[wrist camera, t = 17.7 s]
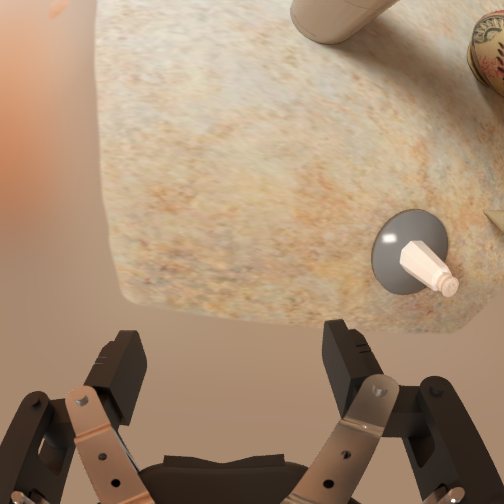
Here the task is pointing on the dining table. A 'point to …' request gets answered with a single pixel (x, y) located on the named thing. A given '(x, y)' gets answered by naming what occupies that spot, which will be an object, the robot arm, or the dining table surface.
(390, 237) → the grey round coaster
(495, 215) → the ice cream cone
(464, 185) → the dining table surface
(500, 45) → the ceramic jug
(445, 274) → the pepper shaker
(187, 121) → the dining table surface
